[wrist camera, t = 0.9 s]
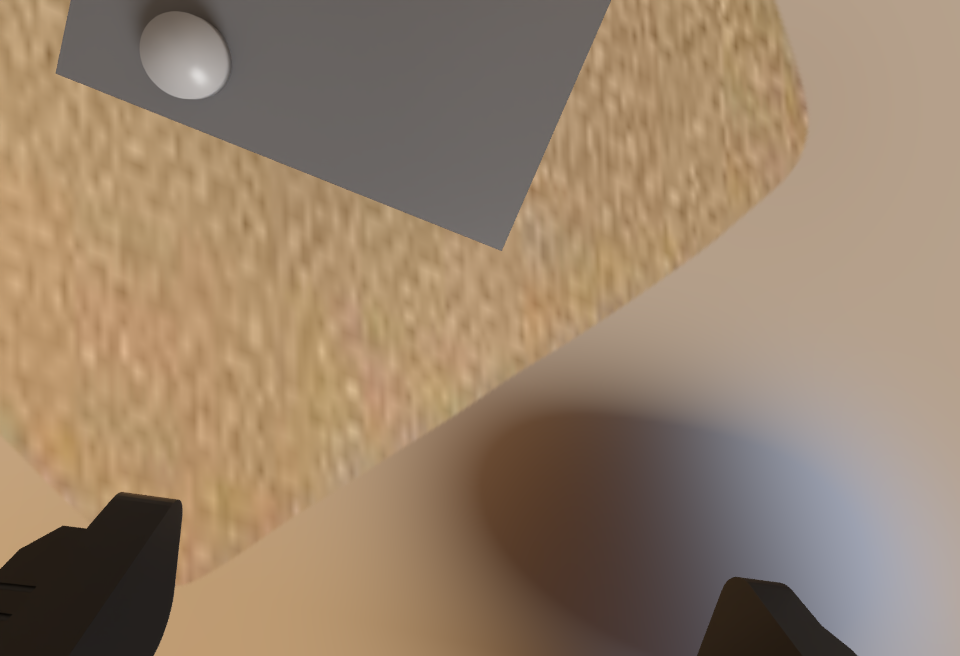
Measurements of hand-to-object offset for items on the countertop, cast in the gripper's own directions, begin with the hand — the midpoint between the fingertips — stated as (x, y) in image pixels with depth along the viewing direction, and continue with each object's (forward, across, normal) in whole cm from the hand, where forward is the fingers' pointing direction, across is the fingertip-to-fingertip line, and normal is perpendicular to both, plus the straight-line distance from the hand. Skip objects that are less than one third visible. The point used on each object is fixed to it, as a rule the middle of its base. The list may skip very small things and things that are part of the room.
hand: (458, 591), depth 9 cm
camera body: (+25, +5, -10) cm, 27 cm away
